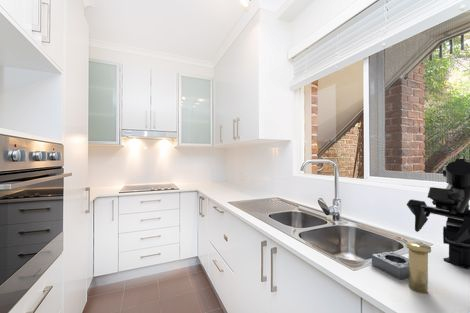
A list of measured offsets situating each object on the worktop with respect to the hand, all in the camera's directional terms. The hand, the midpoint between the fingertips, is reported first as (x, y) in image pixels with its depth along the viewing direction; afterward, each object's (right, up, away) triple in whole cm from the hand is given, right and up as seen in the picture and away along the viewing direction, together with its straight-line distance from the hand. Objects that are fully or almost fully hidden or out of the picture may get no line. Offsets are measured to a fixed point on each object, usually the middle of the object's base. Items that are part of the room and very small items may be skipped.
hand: (434, 236), depth 61 cm
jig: (-6, -13, +7) cm, 16 cm away
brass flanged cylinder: (-7, -13, -3) cm, 15 cm away
